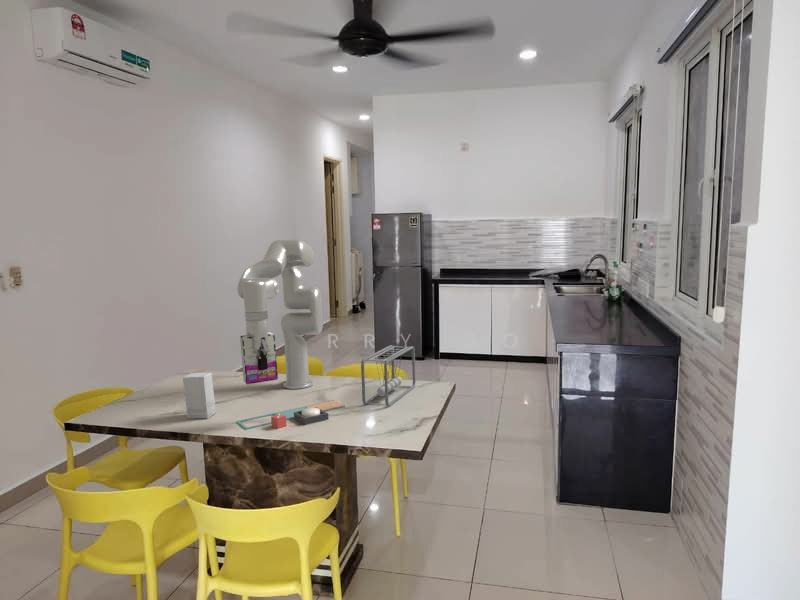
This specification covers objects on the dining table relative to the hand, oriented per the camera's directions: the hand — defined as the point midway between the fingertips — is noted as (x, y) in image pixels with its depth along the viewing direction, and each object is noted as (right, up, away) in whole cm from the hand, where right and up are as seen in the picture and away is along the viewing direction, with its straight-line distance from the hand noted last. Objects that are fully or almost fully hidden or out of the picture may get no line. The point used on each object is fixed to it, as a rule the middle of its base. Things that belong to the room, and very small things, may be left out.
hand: (259, 367), depth 195 cm
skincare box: (-24, -19, +10) cm, 32 cm away
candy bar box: (0, -5, +1) cm, 5 cm away
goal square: (+21, -17, +16) cm, 31 cm away
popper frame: (+17, -18, +3) cm, 26 cm away
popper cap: (+17, -18, +3) cm, 25 cm away
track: (+10, -18, +9) cm, 22 cm away
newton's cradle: (+45, -15, +28) cm, 55 cm away
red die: (+8, -19, -4) cm, 21 cm away
